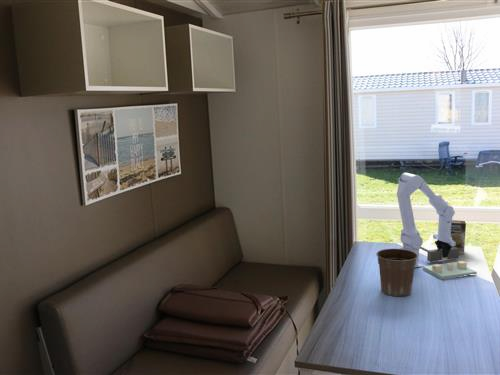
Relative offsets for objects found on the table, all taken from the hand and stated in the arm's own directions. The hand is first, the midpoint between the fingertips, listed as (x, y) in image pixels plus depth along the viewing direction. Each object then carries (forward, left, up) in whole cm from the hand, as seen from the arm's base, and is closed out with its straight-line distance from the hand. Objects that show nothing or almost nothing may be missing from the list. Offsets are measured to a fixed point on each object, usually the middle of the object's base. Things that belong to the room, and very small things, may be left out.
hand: (443, 256), depth 250 cm
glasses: (0, +4, -1) cm, 4 cm away
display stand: (-7, -14, -2) cm, 16 cm away
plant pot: (-42, -26, -3) cm, 49 cm away
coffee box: (+14, +10, -3) cm, 17 cm away
